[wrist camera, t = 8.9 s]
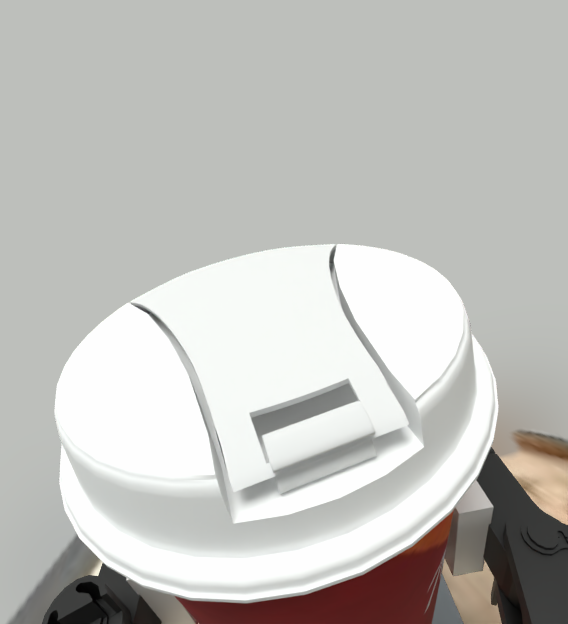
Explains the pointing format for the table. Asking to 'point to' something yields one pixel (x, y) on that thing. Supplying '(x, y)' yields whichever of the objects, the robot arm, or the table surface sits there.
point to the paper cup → (280, 436)
